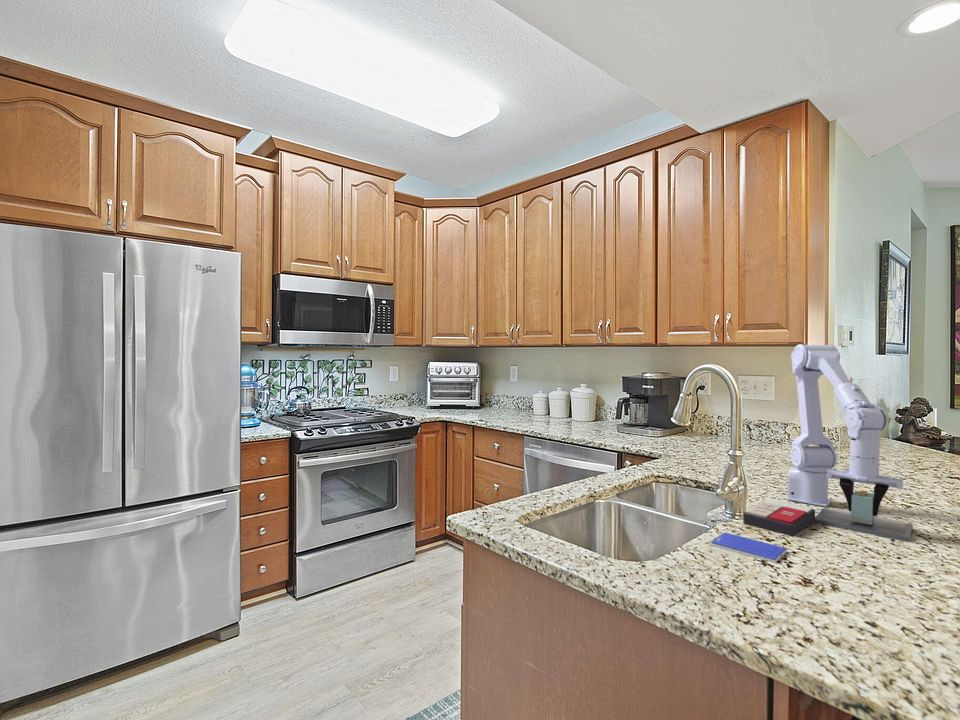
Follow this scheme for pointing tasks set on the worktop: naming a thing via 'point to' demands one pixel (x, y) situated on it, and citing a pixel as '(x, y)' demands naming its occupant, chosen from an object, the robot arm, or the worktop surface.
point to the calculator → (780, 517)
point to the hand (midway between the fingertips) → (863, 512)
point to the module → (862, 507)
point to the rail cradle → (878, 527)
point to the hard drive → (749, 547)
